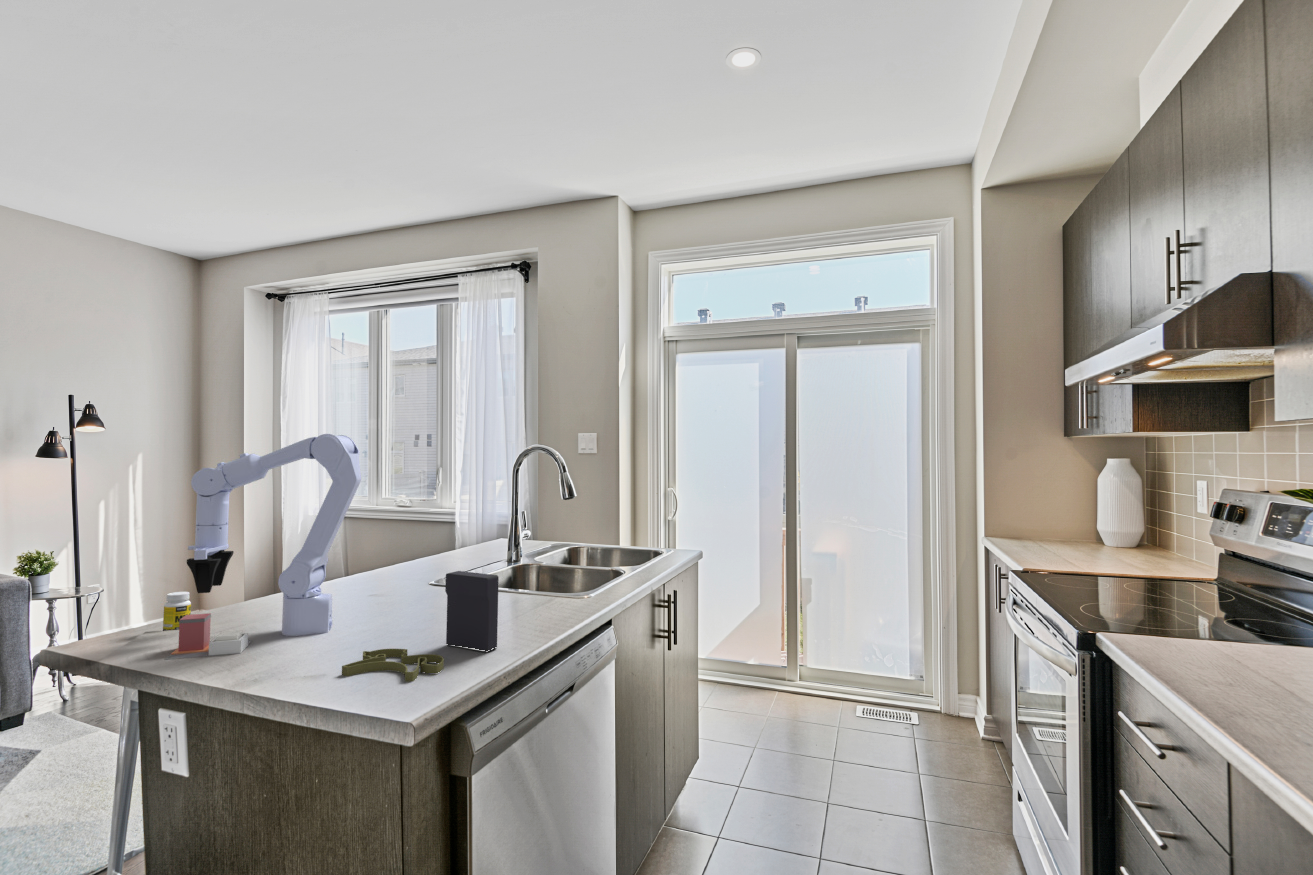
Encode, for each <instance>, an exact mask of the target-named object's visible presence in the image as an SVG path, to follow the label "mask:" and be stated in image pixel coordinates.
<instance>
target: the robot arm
mask: <svg viewBox="0 0 1313 875" xmlns="http://www.w3.org/2000/svg"><path fill="white" fill-rule="evenodd" d="M360 453H361V451H360V449H359V447H358V446H357V444H356V443H355V441H354V440H353V439H352V438H351V437H350V436H347V435H342V434H341V435H340V434H338V435H335V434H331V433H323V434H320V435H318V436H312V437H307V438H306V439H302V440H300V441H297V442H294V443H292V444H289V445H287V446H284V447H281V448H279V449H276V450H274V451H272V452H269V453H267V454H264V455H262V456H261V455H258V454H256V453H250V454H249V452H244V453H241V454H239V458H236V459H234V460H231V461H228V462H224V461H222V462H221V461H220V462H218V463H217V464H216V465H217V466H216V467H215V468H214V467H202V468H200V470H198V471H196V472H195V473H194V474H193V475H192V477H191V480H190V481H191V483H190V484H191V488H192V489H193V491H194V492H195V493H196V503H195V505H196V507H195V508H196V509H195V536H194V538H195V539H194V545H192V544H191V545H188V547H187V550H189V551H194V552H193V554H194V556H193V557H194V558H191V557H190V558H187V559H186V566H188V567H189V570H190V571H191V574H192V576H193V580H194V583H195V588H196V592H197V594H209V593H211V591H212V589H213V587H216V586H217V587H218V586H222V584H223V582H224V577H225V574H226V571H227V567H228V565H229V563H230V560H231V558H232V557H233V555H234V553H235V552H234V550H228V549H229V547H230V544H229V541H228V540H229V519H230V518H229V517H230V516H229V513H230V494H231V492H232V491H233V490H235V489H237V488H240V487H244V486H245V485H249V484H251V483H253V482H257V481H260V480H262V479H264V478H265V477H266V476H267V474H268V472H269V471H270V470H272V469H275V468H279V467H281V466H284V465H287V464H291V463H294V462H298V461H300V460H303V459H308V460H315V461H317V462H318V463H319V464H320V465H321V466H322V467H323V468H325V469H326V471H327V473H328V475H329V477H330V479H331V480H332V483H331V485H330V487H329V490H328V491H327V493H326V496H325V498H324V499H323V502H322V504H321V507H320V508H319V511H318V513H317V515H316V517H315V519H314V522H313V524H312V526H311V528H310V530H309V532H308V534H307V537H306V539H305V540H304V543H303V545H302V548H301V549H300V551H298V553H297V554H296V555H295V557H293V559H292V560H291V563H290V565H289V566H288V567H286V568H285V570H284V569H283V571H282V572H281V573H280V575H279V576H278V582H277V584H278V588H279V591H281V593H282V596H283V597H282V615H281V616H282V617H281V618H282V620H281V622H282V623H281V624H282V625H281V634H282V635H284V636H287V637H290V636H292V637H293V636H294V637H296V636H297V637H298V636H306V635H315V634H326V633H329V631H330V629H332V628H333V594H332V593H324V592H323V593H322V587H321V585H322V584H323V583H324V582H325V580H326V577H327V570H326V568H327V565H328V563H329V556H328V554H329V551H330V549H331V547H332V544H333V543H334V541H335V539H336V536H337V534H338V532H339V530H340V528H341V525H342V523H343V521H344V519H345V517H346V514H347V513H348V510H349V508H350V506H351V504H352V501H353V499H354V497H355V495H356V492H357V490H358V488H359V486H360V484H361V482H362V473H361V465H360Z"/></svg>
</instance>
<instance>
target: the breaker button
mask: <svg viewBox="0 0 1313 875" xmlns="http://www.w3.org/2000/svg"><path fill="white" fill-rule="evenodd" d="M243 633H244V632H243V630H232V631H220V632H219V633H217V635H216V636H215V637H214V638H215V641H228V640H239V639H240V638H241V637H242V635H243Z"/></svg>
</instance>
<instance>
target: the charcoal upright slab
mask: <svg viewBox="0 0 1313 875" xmlns="http://www.w3.org/2000/svg"><path fill="white" fill-rule="evenodd" d="M499 577H500V576H498V575H497V574H489V573H481V572H479V573H478V572H471V571H461V570H456V571H453V572H446V574H445V589H444V590H445V593H446V595H447V596H446V630H445V631H446V632H445V633H446V636H445V637H446V639H445V640H446V641H445V644H448V645H455V646H462V647H468V648H475V649H479V650H485V651H488V650H491V649H492V648H495V647H497V648H498V615H499V613H498V612H499Z"/></svg>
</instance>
